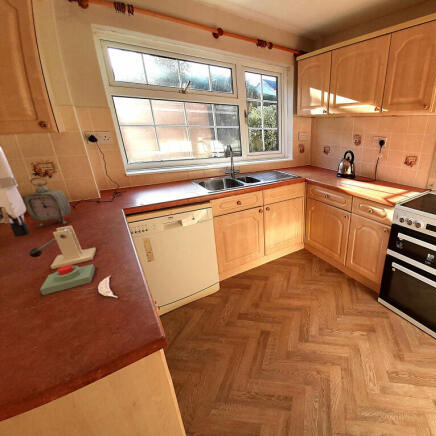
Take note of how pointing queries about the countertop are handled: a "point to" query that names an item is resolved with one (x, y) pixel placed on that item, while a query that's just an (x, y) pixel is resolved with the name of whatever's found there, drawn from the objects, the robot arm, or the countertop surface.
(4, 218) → the robot arm
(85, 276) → the button box
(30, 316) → the countertop surface
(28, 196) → the tabletop clock
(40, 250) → the lever
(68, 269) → the button
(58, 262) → the bracket
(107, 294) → the pea pod
